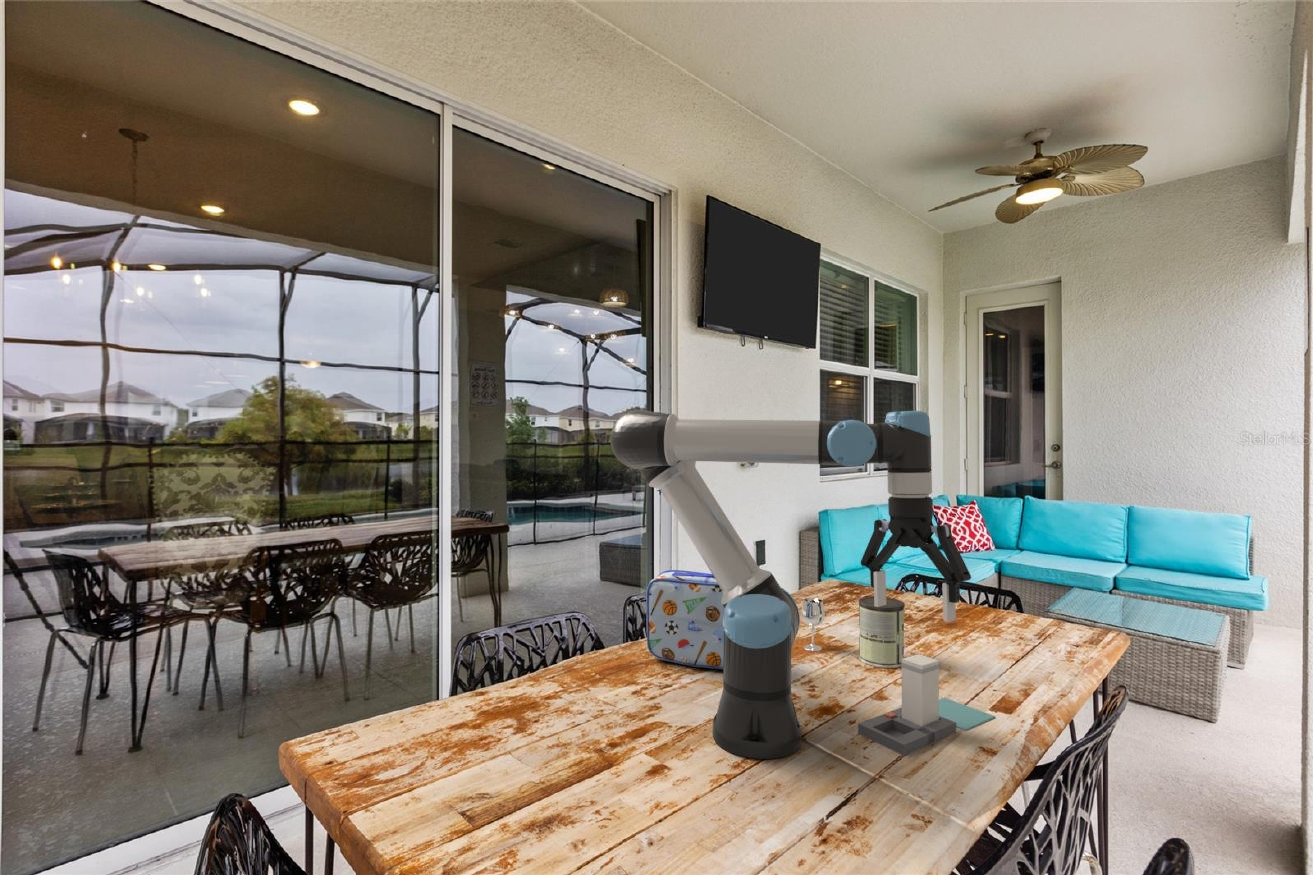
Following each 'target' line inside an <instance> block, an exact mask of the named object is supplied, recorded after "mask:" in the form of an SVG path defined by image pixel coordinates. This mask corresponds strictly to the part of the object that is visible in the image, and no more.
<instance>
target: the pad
mask: <svg viewBox="0 0 1313 875" xmlns="http://www.w3.org/2000/svg"><path fill="white" fill-rule="evenodd" d="M939 716H941V717H943V718H946V719H948V720H951V721H953V722H956V729H959V730H962V731H963V732H964V731H965V732H966V731H968V730H971V729H973V728H975V727H977V726H980V725H982V724H985V723H986V722H988V721H992V720H993V719H995V718H996V716H995V715H992V714H990V713H987V712H985V711H982V710H979V709H977V708H973V707H972V706H971V707H970V706H968V705H965V704H962V703H960V702H957V701H954V700H952V699H950V698H946V697H942V698H939Z"/></svg>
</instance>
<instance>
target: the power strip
mask: <svg viewBox="0 0 1313 875" xmlns="http://www.w3.org/2000/svg"><path fill="white" fill-rule="evenodd" d="M857 734H859V736H862V737H864V738H866V739H868V740H870V741H872V742H874V743H877V744H879V745H881V746H883V747H885V748H887V749H889V750H892V751H893V752H895V753H898V754H900V755H902V756H906V755H908V754H912V753H913V752H916V751H919V750H920V749H922V748H925V747H927V746H930V745H932V744H934V743H936V742H939V741H941V740H942V739H945V738H948V737H949V736H952V735H954V734H957V727H956V722H953V721H951V720H948V719H946V718H943V717H941V716H939V720H938V721H936V722H933V723H931V724H928V725H926V726H923V727H922V726H919V725H917V724H915V723H912V722H910V721H908V720H905V719H903V718H902V707H899V708H897V709H896V708H895V709H893V710H891V711H888V712H885V713H882V714H881V715H878V716H874V717H872V718H869V719H866V720H864V721H861V722H859V723H858V724H857Z"/></svg>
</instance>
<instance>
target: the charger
mask: <svg viewBox="0 0 1313 875" xmlns="http://www.w3.org/2000/svg"><path fill="white" fill-rule="evenodd" d="M900 668H901V708H902V718H903V719H905V720H908V721H910V722H912V723H915V724H917V725H919V726H922V727H923V726H926V725H928V724H931V723H933V722H936V721H938V720H939V699H940V694H939V693H940V674H939V673H940V661H939V660H938V659H935V658H931V657H929V656H925V655H922V654H915V655H912V656H911V655H910V656H908V657H904V659H902V662H901V667H900Z"/></svg>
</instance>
